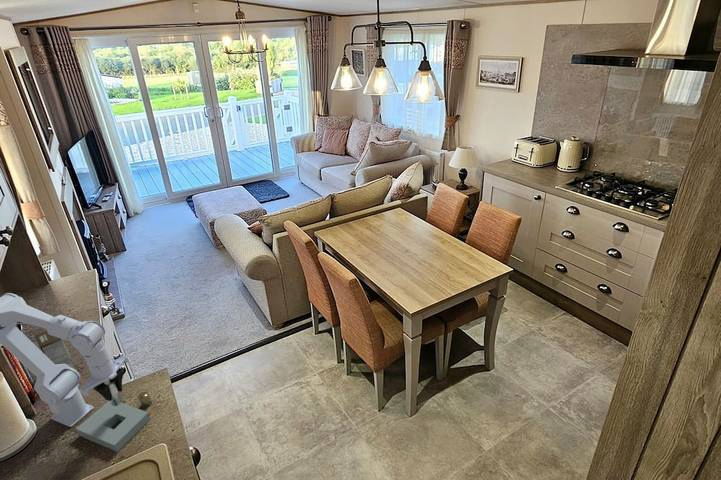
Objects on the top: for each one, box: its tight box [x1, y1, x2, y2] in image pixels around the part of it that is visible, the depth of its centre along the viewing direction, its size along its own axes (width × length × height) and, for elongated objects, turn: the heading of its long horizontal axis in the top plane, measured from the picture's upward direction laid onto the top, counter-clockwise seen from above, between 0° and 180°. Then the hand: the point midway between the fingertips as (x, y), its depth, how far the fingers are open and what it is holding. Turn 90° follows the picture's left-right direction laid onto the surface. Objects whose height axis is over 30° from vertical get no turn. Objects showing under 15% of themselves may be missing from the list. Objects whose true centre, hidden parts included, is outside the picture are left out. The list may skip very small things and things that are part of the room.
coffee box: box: [34, 330, 77, 371], centre depth 144 cm, size 9×6×16 cm
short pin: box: [137, 391, 152, 409], centre depth 132 cm, size 3×3×4 cm
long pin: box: [104, 379, 123, 406], centre depth 123 cm, size 3×3×8 cm
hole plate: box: [75, 400, 152, 453], centre depth 124 cm, size 16×12×3 cm
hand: (113, 394), depth 124 cm, fingers closed on long pin, 3 cm apart
